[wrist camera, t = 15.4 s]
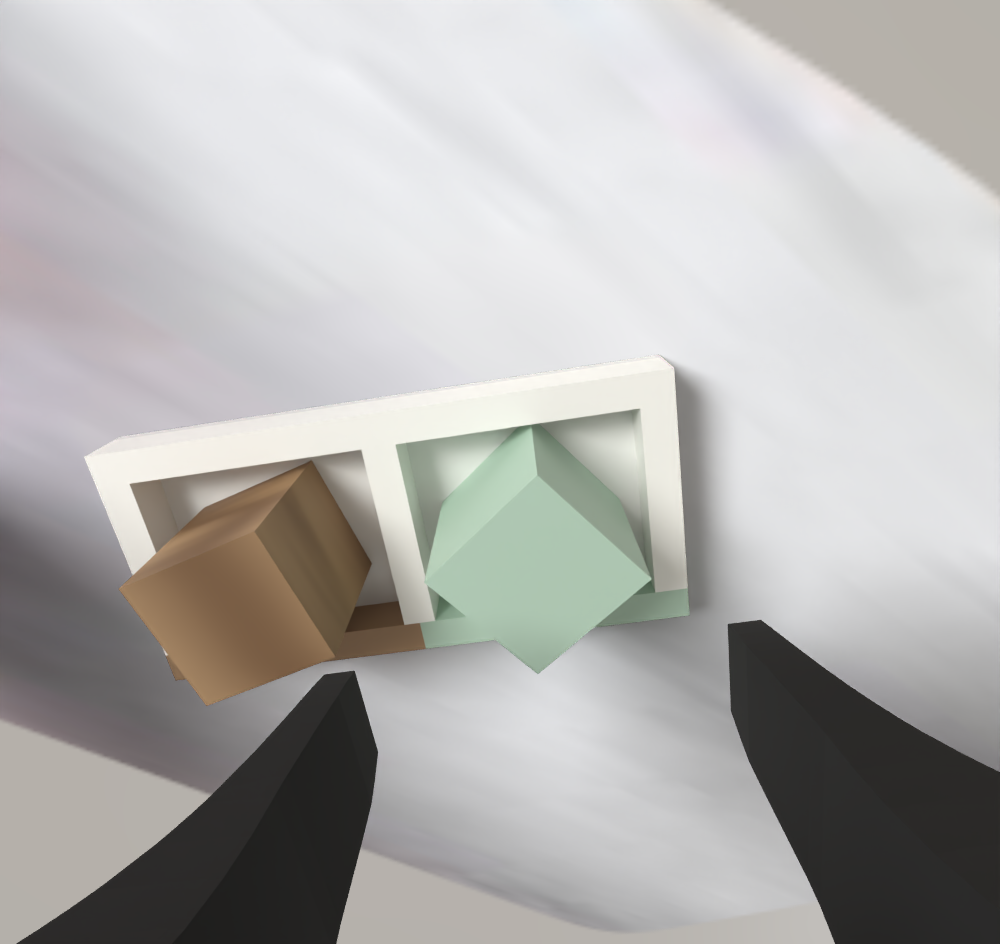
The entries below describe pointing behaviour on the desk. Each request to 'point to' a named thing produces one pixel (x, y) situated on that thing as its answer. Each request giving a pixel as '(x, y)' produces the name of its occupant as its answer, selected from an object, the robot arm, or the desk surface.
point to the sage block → (534, 548)
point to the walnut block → (254, 585)
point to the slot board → (419, 482)
